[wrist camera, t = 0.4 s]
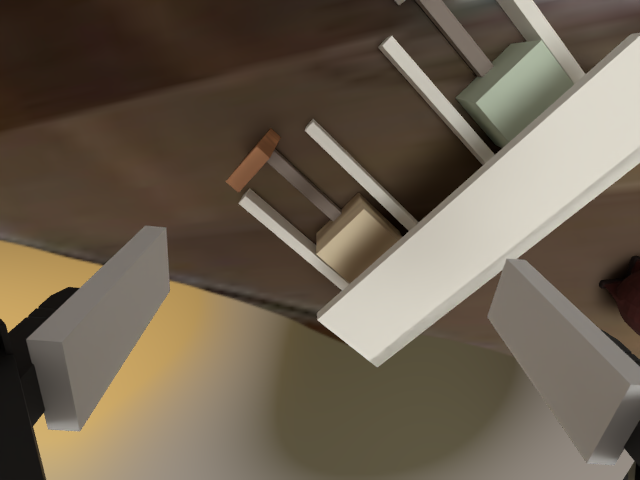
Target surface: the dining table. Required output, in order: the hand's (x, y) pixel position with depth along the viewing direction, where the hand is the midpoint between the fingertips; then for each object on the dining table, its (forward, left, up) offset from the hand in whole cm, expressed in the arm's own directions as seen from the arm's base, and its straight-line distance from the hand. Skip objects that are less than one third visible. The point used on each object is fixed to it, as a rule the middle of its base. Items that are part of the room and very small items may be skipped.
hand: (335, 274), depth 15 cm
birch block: (+3, -4, -24) cm, 24 cm away
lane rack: (+6, +5, -24) cm, 25 cm away
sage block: (+3, +14, -24) cm, 28 cm away
